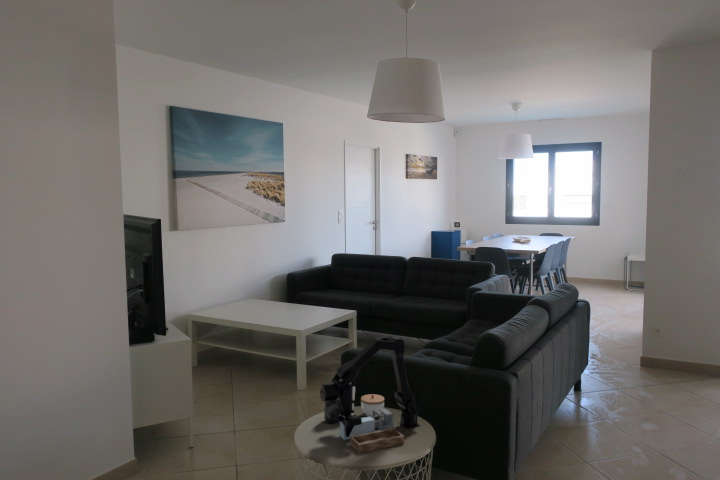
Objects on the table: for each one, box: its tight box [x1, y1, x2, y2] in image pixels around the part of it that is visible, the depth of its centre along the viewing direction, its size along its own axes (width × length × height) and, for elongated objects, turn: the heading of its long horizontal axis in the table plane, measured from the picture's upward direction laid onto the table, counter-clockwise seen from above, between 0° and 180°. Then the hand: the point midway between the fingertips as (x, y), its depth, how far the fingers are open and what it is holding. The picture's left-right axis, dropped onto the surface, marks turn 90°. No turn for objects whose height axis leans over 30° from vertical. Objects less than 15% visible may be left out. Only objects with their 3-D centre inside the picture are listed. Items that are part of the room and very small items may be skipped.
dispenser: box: [372, 407, 395, 431], centre depth 230 cm, size 6×7×8 cm
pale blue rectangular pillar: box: [339, 416, 376, 441], centre depth 224 cm, size 14×4×6 cm, turn 115°
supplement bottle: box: [323, 398, 339, 424], centre depth 239 cm, size 7×7×12 cm
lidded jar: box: [360, 393, 385, 418], centre depth 247 cm, size 11×11×9 cm
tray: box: [349, 428, 405, 454], centre depth 216 cm, size 20×8×3 cm, turn 117°
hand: (345, 434), depth 222 cm, fingers closed on pale blue rectangular pillar, 4 cm apart
